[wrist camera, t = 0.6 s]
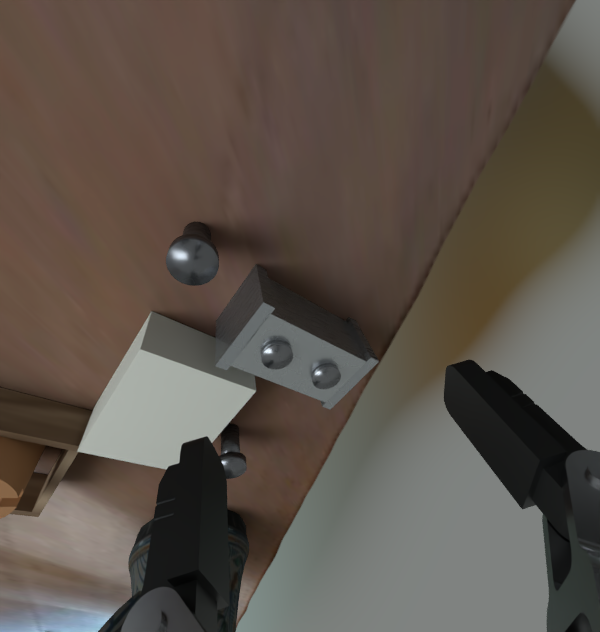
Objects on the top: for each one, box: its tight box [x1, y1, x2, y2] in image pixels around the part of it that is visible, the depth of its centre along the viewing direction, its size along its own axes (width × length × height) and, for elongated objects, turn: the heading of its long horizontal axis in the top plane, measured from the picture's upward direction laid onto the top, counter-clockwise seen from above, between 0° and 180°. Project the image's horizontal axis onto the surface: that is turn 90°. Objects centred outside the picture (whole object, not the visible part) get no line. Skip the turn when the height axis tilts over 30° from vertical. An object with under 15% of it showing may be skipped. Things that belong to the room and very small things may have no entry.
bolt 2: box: [219, 424, 246, 479], centre depth 37 cm, size 3×3×5 cm
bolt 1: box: [166, 222, 219, 286], centre depth 23 cm, size 3×3×5 cm
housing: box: [215, 264, 379, 409], centre depth 29 cm, size 7×12×7 cm, turn 53°
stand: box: [77, 311, 256, 469], centre depth 31 cm, size 13×10×5 cm
